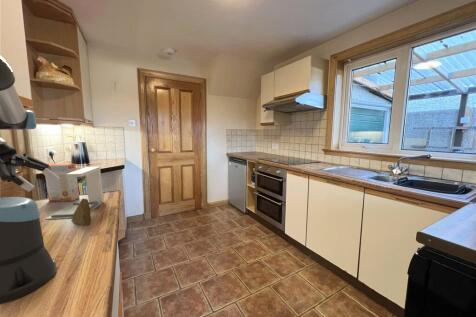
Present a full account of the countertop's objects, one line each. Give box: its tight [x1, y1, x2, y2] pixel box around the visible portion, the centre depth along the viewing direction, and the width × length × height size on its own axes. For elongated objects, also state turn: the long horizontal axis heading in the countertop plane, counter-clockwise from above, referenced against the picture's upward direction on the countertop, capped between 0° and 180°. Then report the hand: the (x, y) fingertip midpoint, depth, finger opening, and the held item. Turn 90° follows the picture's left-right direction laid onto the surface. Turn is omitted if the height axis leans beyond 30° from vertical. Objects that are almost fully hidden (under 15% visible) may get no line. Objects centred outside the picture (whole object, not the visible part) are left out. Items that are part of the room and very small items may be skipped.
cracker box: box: [44, 163, 80, 202], centre depth 116 cm, size 14×6×21 cm, turn 84°
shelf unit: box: [44, 166, 105, 221], centre depth 102 cm, size 21×15×20 cm
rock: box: [70, 198, 92, 226], centre depth 89 cm, size 11×9×10 cm
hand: (45, 184), depth 86 cm, fingers open, 13 cm apart
